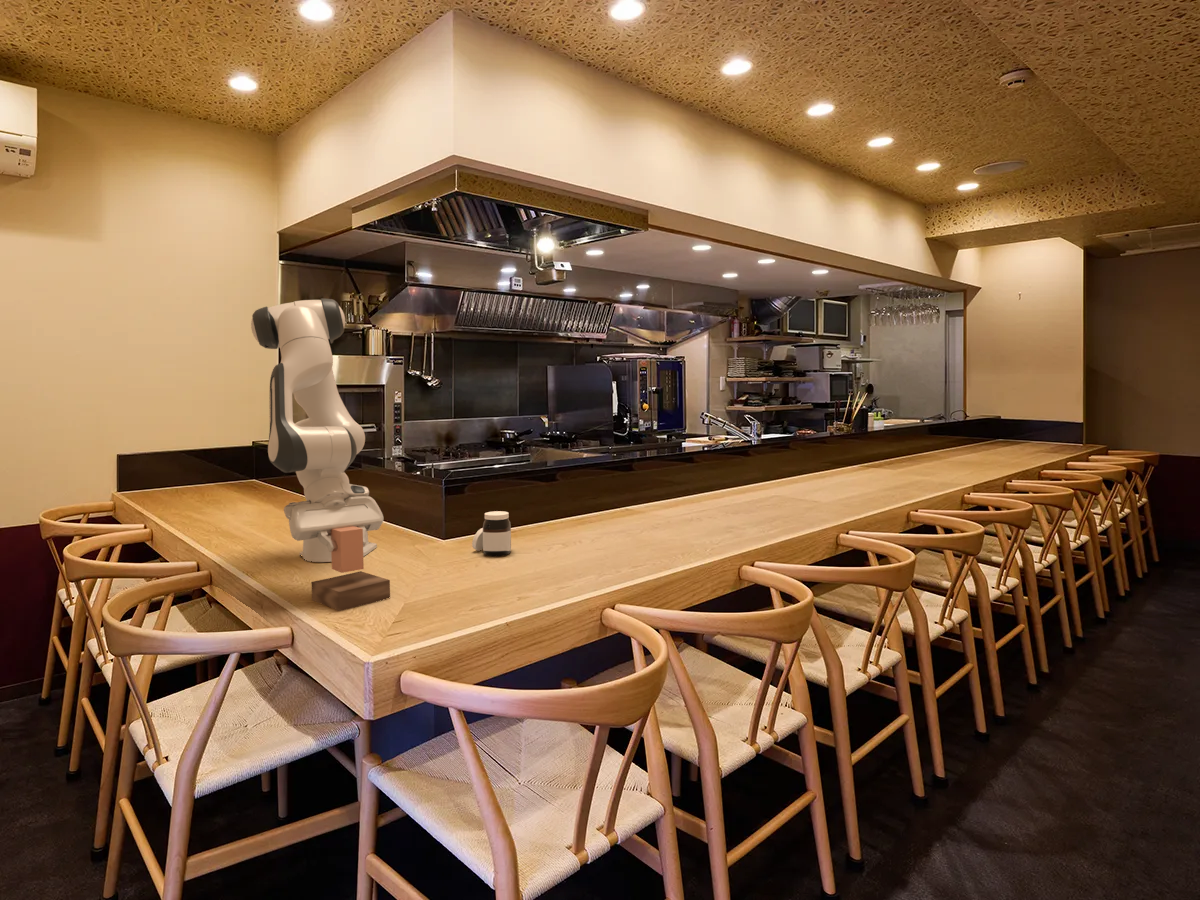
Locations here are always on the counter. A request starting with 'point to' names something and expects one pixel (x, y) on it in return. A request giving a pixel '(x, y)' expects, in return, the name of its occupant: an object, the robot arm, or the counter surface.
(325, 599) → the walnut slab
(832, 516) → the counter surface
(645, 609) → the counter surface
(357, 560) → the terracotta block
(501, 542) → the spread jar
